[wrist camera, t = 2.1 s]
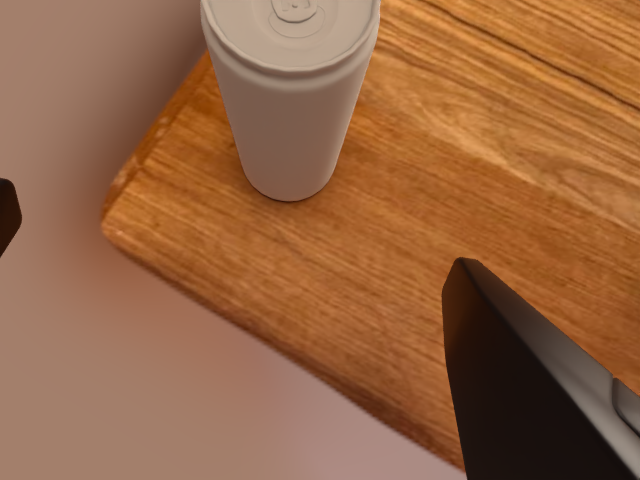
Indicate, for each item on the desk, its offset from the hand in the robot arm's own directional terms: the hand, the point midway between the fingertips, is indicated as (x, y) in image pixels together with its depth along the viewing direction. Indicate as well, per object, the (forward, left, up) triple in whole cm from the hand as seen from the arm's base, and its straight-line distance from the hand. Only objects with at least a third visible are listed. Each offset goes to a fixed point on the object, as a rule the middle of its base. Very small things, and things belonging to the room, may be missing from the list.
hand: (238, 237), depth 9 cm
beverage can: (+7, -1, -13) cm, 15 cm away
